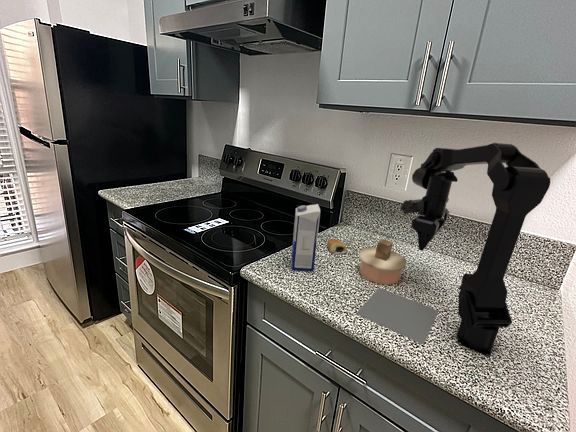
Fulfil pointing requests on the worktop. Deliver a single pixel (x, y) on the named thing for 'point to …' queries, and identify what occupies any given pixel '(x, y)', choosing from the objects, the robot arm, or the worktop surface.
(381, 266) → the lid
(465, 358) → the worktop surface
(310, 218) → the milk carton
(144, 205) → the worktop surface
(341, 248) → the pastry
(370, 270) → the bowl
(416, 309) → the mat
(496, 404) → the worktop surface
